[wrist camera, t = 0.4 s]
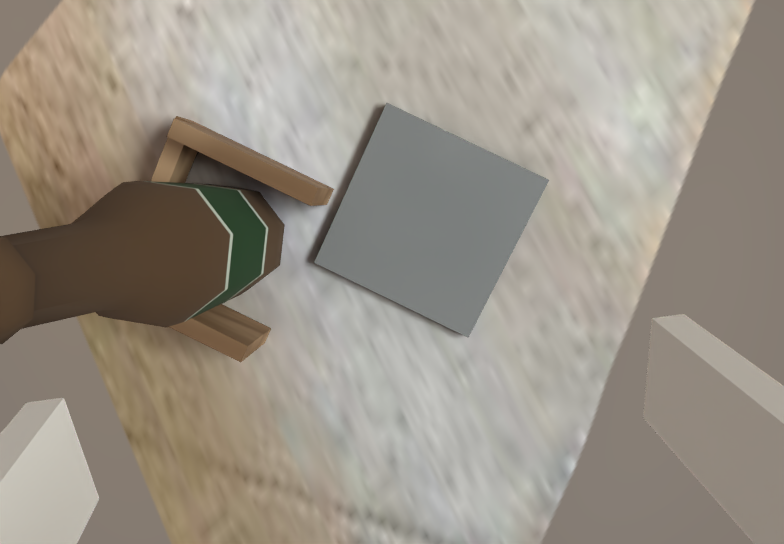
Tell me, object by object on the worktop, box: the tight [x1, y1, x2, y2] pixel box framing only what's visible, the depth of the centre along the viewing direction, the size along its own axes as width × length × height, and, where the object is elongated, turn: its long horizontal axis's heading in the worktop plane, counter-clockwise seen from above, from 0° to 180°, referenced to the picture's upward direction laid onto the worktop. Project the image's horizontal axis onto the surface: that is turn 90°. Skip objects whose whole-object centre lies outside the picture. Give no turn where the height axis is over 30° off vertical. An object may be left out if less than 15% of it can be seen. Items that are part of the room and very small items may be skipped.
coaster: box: [314, 103, 549, 337], centre depth 39 cm, size 12×12×1 cm
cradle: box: [151, 116, 334, 362], centre depth 39 cm, size 12×11×5 cm
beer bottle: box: [0, 181, 284, 344], centre depth 29 cm, size 8×8×24 cm
